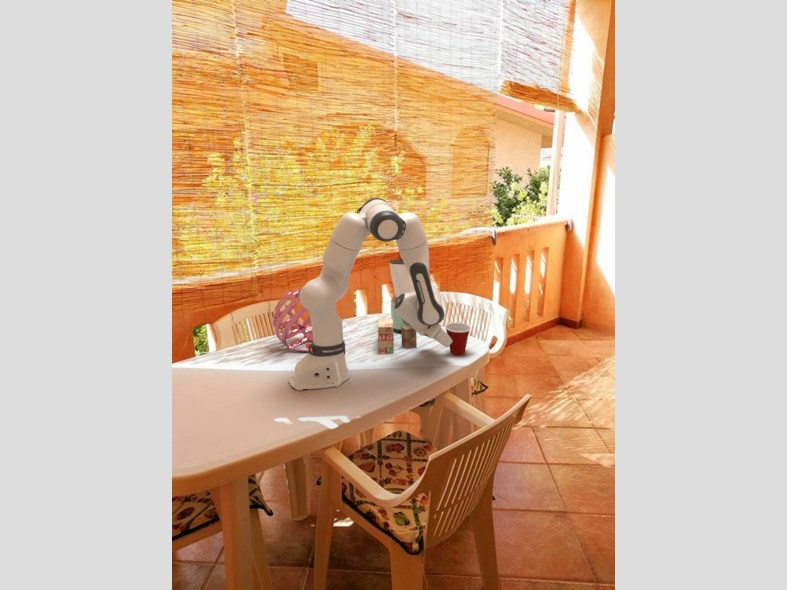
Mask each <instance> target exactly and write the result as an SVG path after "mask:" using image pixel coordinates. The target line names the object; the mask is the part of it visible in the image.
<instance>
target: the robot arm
mask: <svg viewBox="0 0 787 590" xmlns="http://www.w3.org/2000/svg"><path fill="white" fill-rule="evenodd" d="M371 235H372V237H374V238H375V239H376V240H378V241H380V242H383V243H384V242H387V243H388V242H391V241H395V243H396V247H397V250H398V252H399V255H400V257H401V258H400V259H402V260H403V262H404V264H405V266H406V268H407V270H408V273H409V275H410V277H411V279H412V282H413V285H414V292H411V293H403V294H401V295H400V296H399V297H398V298H397V300H396V302H395V306H394V307H395V311H396V312H397V314H398V315H399V316H400V317H401V318H402V319H403V320H404V321H405V322H407V323H409V324H410V325H411V326H412V328H413V329H414V330H416V333H418V335H420V336H422V337H423V336H424V337H427V338H429V339H433V340H435V341H436V342H437V343H438V344H441V345H442V346H443V347H445V348H450V344H451V343H452V342H453V341H452V339H451V338H450V337H449V335H448V334H447V331H445V330H444V329H443V328H442V325H441V322H442V321H444V318H445V311H444V307H443V301H442V295H441V291H440V290H439V289H438V288H437V287H436V286H434V285H432V282H431V277H430V276H431V275H430V247H429V243H428V237H427V235H426V231H425V228H424V226H423V224H422V221H421V220H420V218H419V216H418V215H417V214H416V213H414V212H411V211H406V212H401V213H397V211H396V210H395V209H394V208H393V207H392V206H391V205H390V203H389V202H388V201H386V200H385V199H383V198H382V197H381V198H380V197H371V198H370V199H368V200H366V201H365V202H364V203H363V204H362V205H361V206H360V207H359V208H357V210H356V212H352V211H351V212H346V213H344V214H343V215H341V218H340V219H339V220H338V222H337V224H336V225H335V227H334V228H333V231H332V233H331V236H330V237H329V240H328V243H327V245H326V247H325V249H324V252H323V254H322V268H321V270H320V271H321V272H320V273H319V275H318V276H317V277H316V278H313V279H311V280H309V281H307V282H306V283H305V285H304V286H303V287H302V288H300V289H301V291H300V301H299V302H300V303H301V305H302V306H304V307H305V308H306V309H307V310H306V311H307V313H308V317H309V316H310V319H311V323H310V324H311V330H312V332H313V342H312V343H310V342H308V341H306V342H305V343H304V344H305V345H304V347H305V348H306V350H308V352H307V354H306V355H304V356H303V357H302V358H301V359H299V360H298V361H297V363H296V364H295V367H294V373H293V374H291V375H290V376H289V377H288V383H290V384H289V386H290V385H291V386H292V387H293V388H295V389H298V390H297V391H304V390H303V389H308V390H317V389H327V388H335V387H340V386H341V385H342V384H343V383H344V382H346V381H348V379H350V377H351V374H350V372H349V369H348V365H347V360H346V342H345V340H344V331H343V329H344V328H343V320H342V318H341V317H339V314H338V311H337V307H336V302H338V301H340V300H341V299H343V297H344V296H345V294H347V292H348V289H349V281H350V277H351V273H352V269H353V267H354V264H355V262H356V260H357V257H358V255H359V253H360V251H361V248H362V246H363V243H364V241H366V239H367V238H368V237H369V236H371ZM291 386H290V387H291ZM292 387H291V388H292ZM293 388H292V389H293ZM295 389H294V390H295Z"/></svg>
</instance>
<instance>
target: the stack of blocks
mask: <svg viewBox="0 0 787 590" xmlns="http://www.w3.org/2000/svg"><path fill="white" fill-rule="evenodd" d="M394 335H395V334H394V330H393V319H392V318H391V317H390V318H378V325H377V338H378V355H390V354H391V355H393V354H394V351H395V350H394V348H395V346H394V344H395V343H394V342H395V341H394V340H395V339H394Z"/></svg>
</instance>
